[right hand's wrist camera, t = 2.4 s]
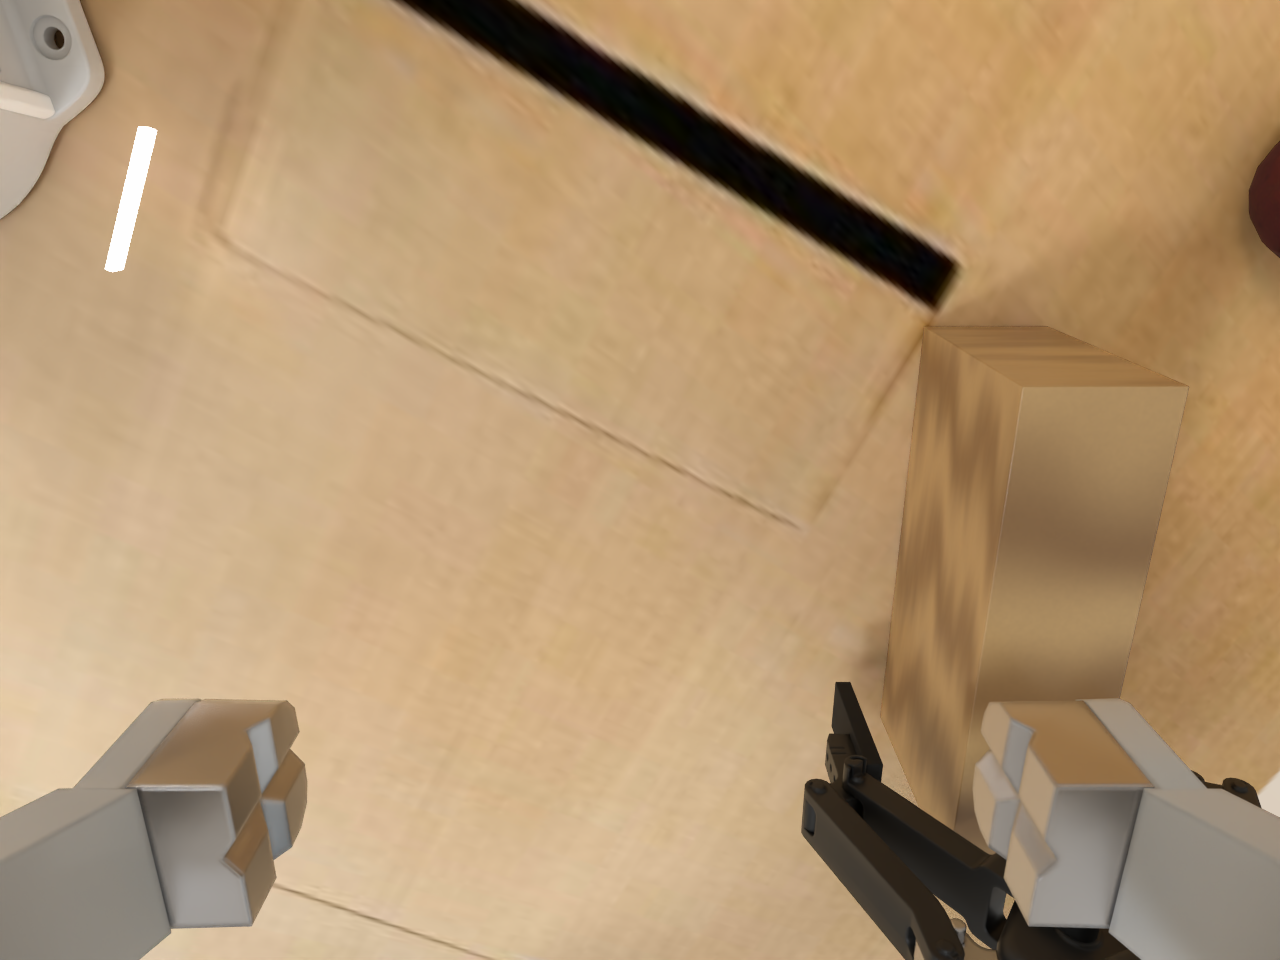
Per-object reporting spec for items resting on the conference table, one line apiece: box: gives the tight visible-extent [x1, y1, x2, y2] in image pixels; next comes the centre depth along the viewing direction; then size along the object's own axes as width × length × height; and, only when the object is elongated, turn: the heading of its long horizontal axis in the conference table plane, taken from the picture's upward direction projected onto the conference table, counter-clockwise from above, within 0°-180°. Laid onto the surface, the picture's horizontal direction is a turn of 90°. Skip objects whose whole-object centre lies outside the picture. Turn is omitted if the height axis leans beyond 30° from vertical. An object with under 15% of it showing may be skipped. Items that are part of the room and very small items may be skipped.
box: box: [880, 326, 1189, 855], centre depth 41 cm, size 22×6×12 cm, turn 0°
